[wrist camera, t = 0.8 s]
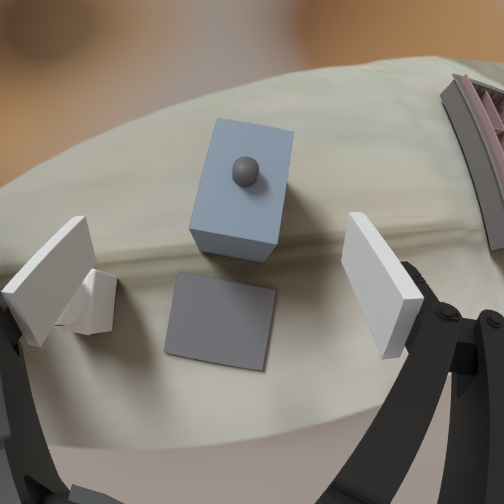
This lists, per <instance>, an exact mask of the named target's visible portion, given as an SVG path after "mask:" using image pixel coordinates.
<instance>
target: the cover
mask: <svg viewBox="0 0 504 504" xmlns="http://www.w3.org/2000/svg"><path fill="white" fill-rule="evenodd" d="M293 136H294V132H292V131H287V130H282V129H278V128H273V127H268V126H262V125H257V124H251V123H246V122H240V121H234V120H227V119H220V118H217V120H216V124H215V127H214V131H213V134H212V138H211V142H210V145H209V149H208V153H207V156H206V160H205V164H204V168H203V172H202V176H201V180H200V184H199V188H198V192H197V196H196V200H195V204H194V208H193V212H192V217H191V221H190V225H189V230H190V232H191V234H192V236H193V238H194V240H195V242H196V244H197V246H198V248H199V250H200V251H202V252H208V253H213V254H218V255H224V256H229V257H235V258H240V259H245V260H251V261H256V262H262V263H264V262H265V260H266V259H267V258H268V256H269V255H270V254H271V252H272V251H273V250H274V248H275V247H276V246H277V243H278V237H279V230H280V224H281V218H282V211H283V205H284V198H285V191H286V185H287V178H288V171H289V164H290V157H291V150H292V143H293Z"/></svg>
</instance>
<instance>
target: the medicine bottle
mask: <svg viewBox="0 0 504 504" xmlns="http://www.w3.org/2000/svg"><path fill="white" fill-rule="evenodd" d="M116 285H117V277H116V276H113V275H110V274H107V273H104V272H101V271H98V270H95V269H91V271H90V272H89V273H88V275H87V276H86V278H85V279H84V281H83V282H82V284H81V285H80V286H79V288H78V289H77V291H76V292H75V294H74V295H73V297H72V298H71V300H70V301H69V303H68V304H67V306H66V307H65V309H64V311H63V312H62V314H61V315H60V317H59V318H58V320H57V322H56V323H55V325H54V326H53V327H54V328H58V329H62V330H67V331H71V332H76V333H80V334H85V335H93V334H100V333H106V332H111V331H112V326H113V314H114V303H115V294H116Z"/></svg>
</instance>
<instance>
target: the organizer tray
mask: <svg viewBox="0 0 504 504" xmlns="http://www.w3.org/2000/svg"><path fill="white" fill-rule="evenodd" d="M452 76H453V78H454V80H453V81H452V82H451V83H450V85H449V86H448V87H447V88H446V89H445V90H444V91H443V92H442V93H441V94H440V97H441V99H442V101H443V103H444V106H445V108H446V110H447V112H448V114H449V117H450V119H451V121H452V124H453V126H454V128H455V131H456V133H457V136H458V138H459V141H460V144H461V146H462V149H463V152H464V154H465V157H466V160H467V163H468V166H469V169H470V172H471V175H472V178H473V181H474V184H475V188H476V191H477V195H478V198H479V202H480V205H481V209H482V213H483V217H484V221H485V225H486V230H487V234H488V239H489V244H490V249H491V251H492V250H497V249H502V248H504V91H503V90H501V89H498V88H496V87H493V86H490V85H487V84H484V83H481V82H478V81H475V80H472V79H469V77H468V76H467V74H465V76H464V77H463V76H459V75H456V74H452ZM463 152H462V153H463Z"/></svg>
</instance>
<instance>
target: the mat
mask: <svg viewBox="0 0 504 504" xmlns="http://www.w3.org/2000/svg"><path fill="white" fill-rule="evenodd" d="M275 294H276V290H275V289H270V288H264V287H258V286H253V285H247V284H242V283H236V282H231V281H225V280H220V279H215V278H209V277H204V276H199V275H194V274H189V273H184V272H179V271H178V275H177V280H176V286H175V291H174V296H173V301H172V307H171V312H170V318H169V323H168V329H167V335H166V341H165V347H164V352H165V353H170V354H174V355H179V356H183V357H188V358H193V359H198V360H203V361H208V362H213V363H219V364H224V365H230V366H236V367H242V368H248V369H255V370H262V368H263V363H264V357H265V352H266V346H267V341H268V335H269V329H270V324H271V318H272V312H273V306H274V300H275Z"/></svg>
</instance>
